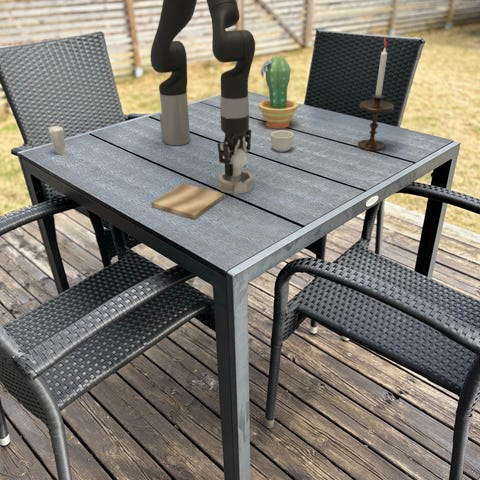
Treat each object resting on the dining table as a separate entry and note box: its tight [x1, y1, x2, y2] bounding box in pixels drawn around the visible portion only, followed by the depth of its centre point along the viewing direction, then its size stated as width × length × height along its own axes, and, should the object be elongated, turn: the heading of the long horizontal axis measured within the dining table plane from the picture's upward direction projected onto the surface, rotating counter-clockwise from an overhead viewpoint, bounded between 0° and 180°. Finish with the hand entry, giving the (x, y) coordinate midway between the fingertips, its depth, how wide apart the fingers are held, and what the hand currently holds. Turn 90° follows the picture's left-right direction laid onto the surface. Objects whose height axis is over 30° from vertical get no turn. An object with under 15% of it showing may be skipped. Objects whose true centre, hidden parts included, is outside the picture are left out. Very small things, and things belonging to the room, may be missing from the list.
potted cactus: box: [257, 55, 299, 130], centre depth 175 cm, size 15×15×25 cm
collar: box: [217, 169, 256, 195], centre depth 133 cm, size 10×10×3 cm
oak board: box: [151, 183, 225, 220], centre depth 125 cm, size 14×14×1 cm
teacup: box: [270, 129, 295, 153], centre depth 158 cm, size 10×8×5 cm
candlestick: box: [357, 37, 395, 152], centre depth 150 cm, size 11×11×35 cm
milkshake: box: [48, 121, 67, 155], centre depth 156 cm, size 4×5×10 cm
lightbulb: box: [228, 149, 248, 183], centre depth 131 cm, size 6×6×11 cm
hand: (235, 171), depth 132 cm, fingers closed on lightbulb, 6 cm apart
